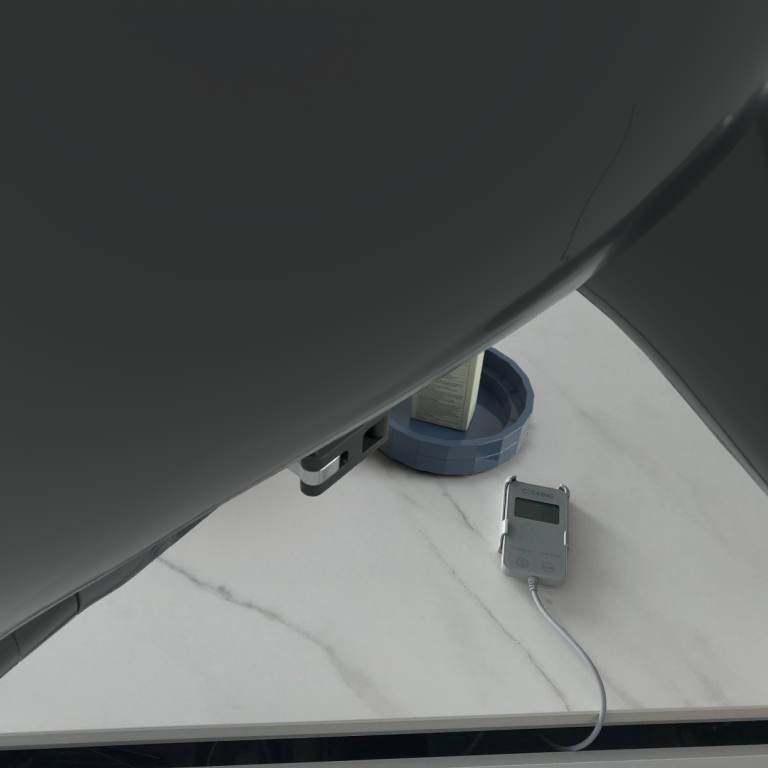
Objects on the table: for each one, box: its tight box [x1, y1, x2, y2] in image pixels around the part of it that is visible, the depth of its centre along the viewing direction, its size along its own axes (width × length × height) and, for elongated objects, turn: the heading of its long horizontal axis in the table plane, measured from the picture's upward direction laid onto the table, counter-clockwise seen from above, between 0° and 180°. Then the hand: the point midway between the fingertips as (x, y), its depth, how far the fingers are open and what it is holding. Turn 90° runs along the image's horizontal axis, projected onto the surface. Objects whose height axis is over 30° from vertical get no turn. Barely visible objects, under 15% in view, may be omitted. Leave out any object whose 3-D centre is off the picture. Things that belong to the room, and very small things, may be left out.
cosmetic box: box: [410, 351, 484, 431], centre depth 78 cm, size 6×4×12 cm
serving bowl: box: [378, 346, 535, 476], centre depth 80 cm, size 18×18×4 cm
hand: (337, 325), depth 45 cm, fingers open, 8 cm apart
